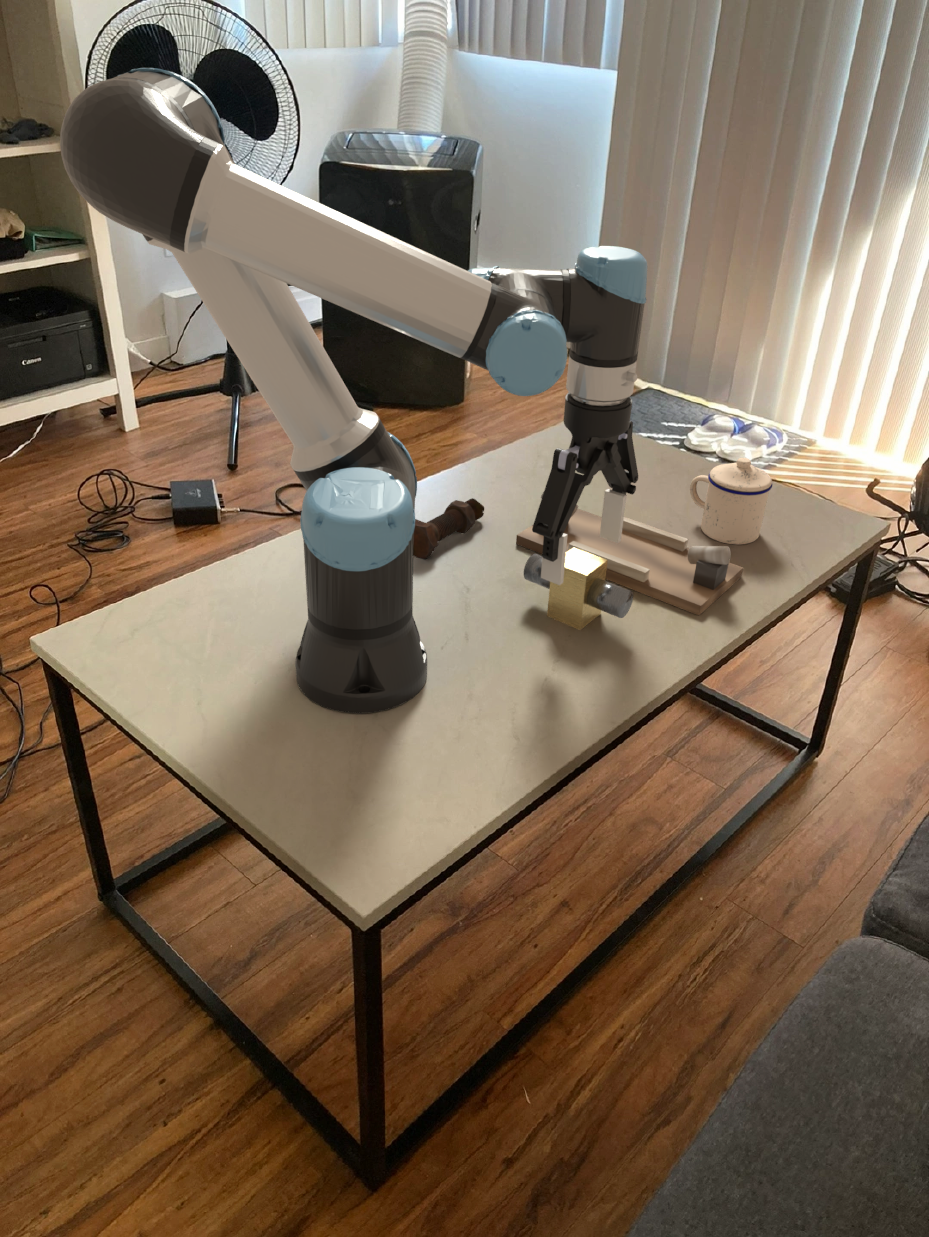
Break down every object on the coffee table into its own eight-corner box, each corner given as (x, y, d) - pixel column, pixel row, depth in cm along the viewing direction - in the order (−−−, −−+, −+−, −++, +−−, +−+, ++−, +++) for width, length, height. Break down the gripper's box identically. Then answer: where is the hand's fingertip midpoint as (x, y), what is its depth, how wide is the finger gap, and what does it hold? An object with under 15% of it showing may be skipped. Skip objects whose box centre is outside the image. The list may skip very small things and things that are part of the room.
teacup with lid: (771, 531, 148) (787, 459, 142) (743, 552, 143) (759, 479, 136) (699, 506, 155) (712, 436, 148) (670, 525, 149) (682, 454, 142)
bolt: (479, 531, 149) (418, 567, 139) (457, 508, 150) (394, 541, 139) (497, 506, 145) (436, 541, 135) (474, 482, 146) (412, 515, 135)
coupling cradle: (699, 615, 128) (708, 567, 124) (515, 543, 142) (518, 498, 138) (741, 577, 137) (751, 531, 133) (564, 513, 151) (568, 469, 147)
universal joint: (611, 643, 122) (618, 588, 117) (518, 604, 129) (522, 550, 124) (631, 626, 125) (639, 572, 121) (539, 588, 132) (544, 536, 128)
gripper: (567, 435, 101) (551, 610, 112) (680, 373, 117) (657, 531, 129) (507, 417, 104) (498, 588, 116) (625, 359, 121) (607, 514, 133)
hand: (582, 559), depth 122 cm, fingers open, 13 cm apart
